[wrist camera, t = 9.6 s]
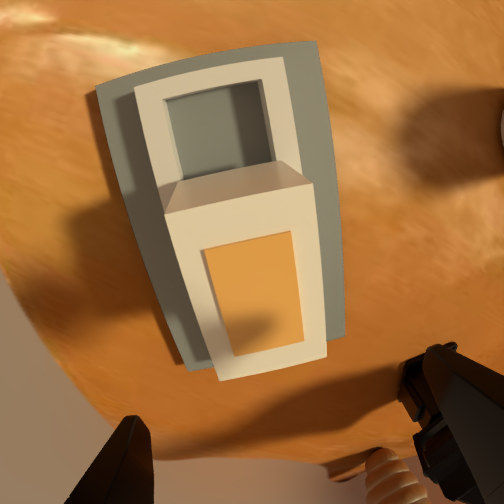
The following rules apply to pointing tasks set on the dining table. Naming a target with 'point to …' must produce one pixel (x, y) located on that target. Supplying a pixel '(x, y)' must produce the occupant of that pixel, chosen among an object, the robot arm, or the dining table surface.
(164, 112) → the rail panel
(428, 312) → the dining table surface
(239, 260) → the block
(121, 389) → the dining table surface
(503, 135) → the can
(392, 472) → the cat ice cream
